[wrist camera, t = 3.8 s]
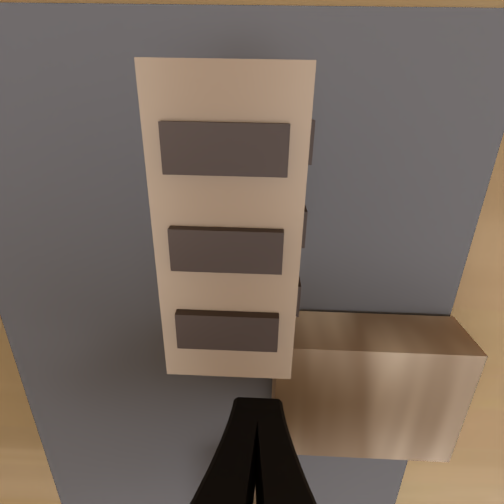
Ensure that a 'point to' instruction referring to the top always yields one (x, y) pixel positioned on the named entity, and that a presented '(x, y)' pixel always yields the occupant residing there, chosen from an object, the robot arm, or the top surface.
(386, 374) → the tile two
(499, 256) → the top surface
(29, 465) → the top surface
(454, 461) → the top surface
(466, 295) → the top surface
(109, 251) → the mat
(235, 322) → the tile three
